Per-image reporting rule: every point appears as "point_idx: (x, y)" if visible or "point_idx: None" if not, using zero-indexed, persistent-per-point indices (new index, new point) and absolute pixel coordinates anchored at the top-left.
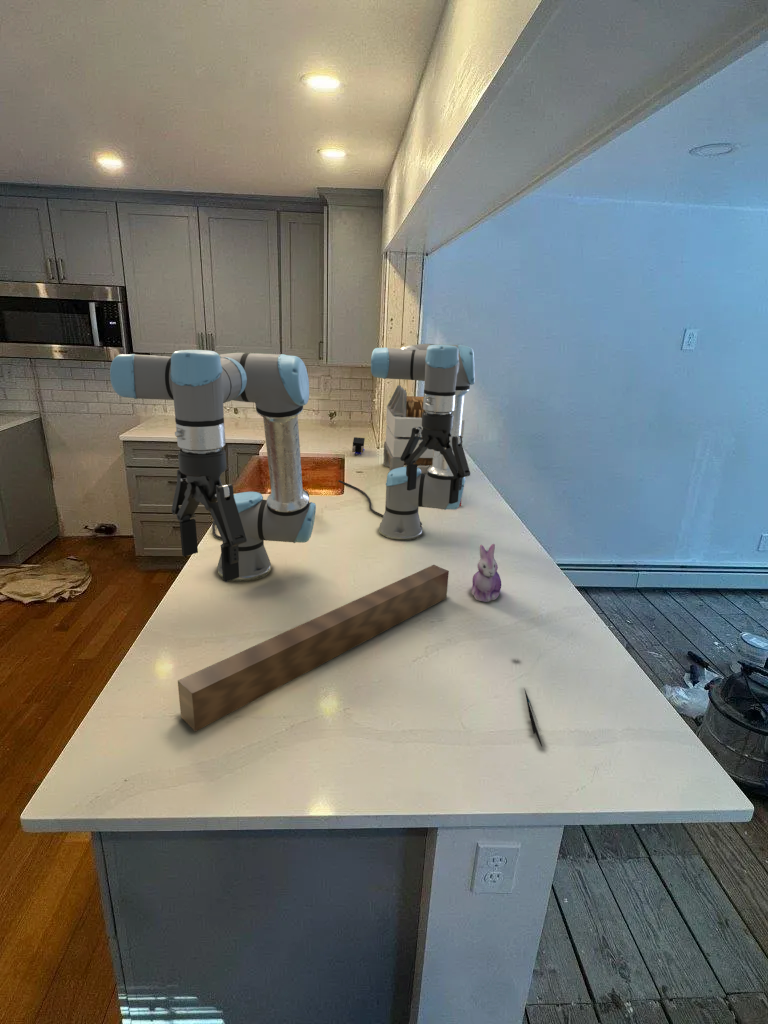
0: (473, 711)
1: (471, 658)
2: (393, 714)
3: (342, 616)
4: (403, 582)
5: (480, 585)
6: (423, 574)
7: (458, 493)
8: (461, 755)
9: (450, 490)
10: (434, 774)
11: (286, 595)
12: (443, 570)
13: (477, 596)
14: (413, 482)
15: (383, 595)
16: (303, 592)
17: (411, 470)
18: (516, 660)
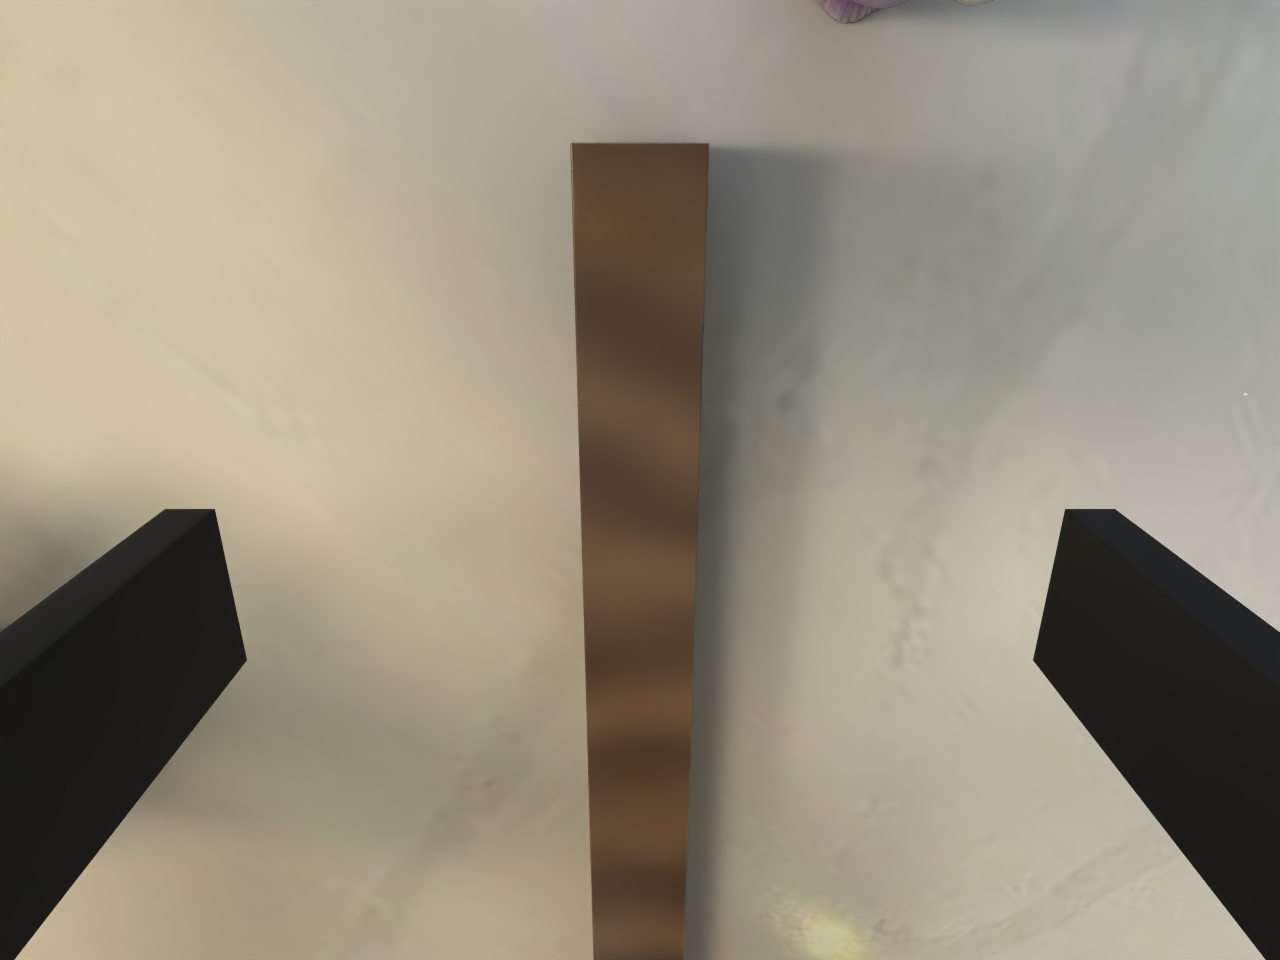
0: None
1: (1069, 504)
2: (998, 866)
3: (656, 880)
4: (616, 494)
5: (889, 7)
6: (625, 326)
7: (1204, 580)
8: None
9: (1166, 813)
10: (1197, 931)
11: None
12: (679, 171)
13: (847, 11)
14: (160, 641)
15: (646, 663)
16: None
17: (2, 929)
18: (1246, 394)
